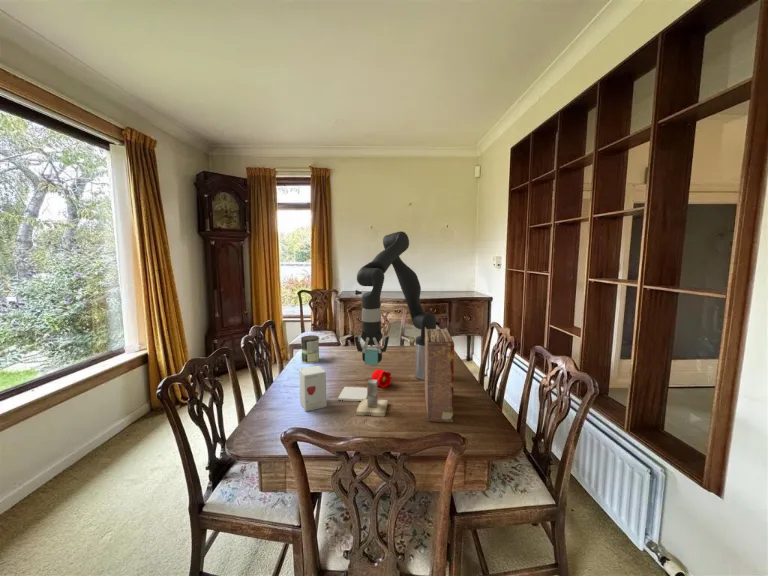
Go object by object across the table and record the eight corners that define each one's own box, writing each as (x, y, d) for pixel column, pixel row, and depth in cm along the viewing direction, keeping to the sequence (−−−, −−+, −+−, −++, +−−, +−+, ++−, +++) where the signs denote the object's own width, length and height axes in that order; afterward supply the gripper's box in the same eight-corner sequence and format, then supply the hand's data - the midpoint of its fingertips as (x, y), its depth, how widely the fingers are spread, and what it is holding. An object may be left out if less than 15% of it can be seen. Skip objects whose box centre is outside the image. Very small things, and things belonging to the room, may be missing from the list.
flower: (382, 369, 157) (393, 373, 151) (378, 385, 155) (389, 389, 149) (371, 366, 152) (382, 370, 146) (366, 382, 150) (377, 387, 144)
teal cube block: (379, 360, 127) (379, 348, 127) (377, 365, 122) (377, 352, 122) (367, 360, 128) (367, 348, 127) (364, 364, 123) (364, 352, 122)
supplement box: (304, 412, 125) (303, 375, 123) (299, 403, 133) (298, 368, 131) (327, 407, 129) (326, 371, 127) (321, 398, 137) (320, 364, 135)
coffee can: (298, 363, 183) (298, 339, 182) (305, 357, 193) (304, 335, 192) (315, 363, 182) (315, 339, 180) (321, 358, 192) (321, 335, 191)
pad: (370, 390, 145) (370, 387, 145) (365, 401, 133) (365, 399, 133) (344, 388, 146) (344, 386, 146) (337, 400, 135) (337, 398, 134)
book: (424, 392, 142) (424, 327, 139) (445, 393, 141) (446, 327, 138) (427, 422, 116) (428, 342, 114) (453, 422, 116) (454, 342, 113)
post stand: (387, 403, 132) (387, 376, 130) (384, 416, 121) (384, 387, 120) (361, 402, 133) (361, 375, 132) (356, 415, 122) (355, 386, 121)
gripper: (390, 317, 126) (391, 359, 128) (355, 317, 128) (356, 358, 129) (388, 321, 119) (389, 365, 120) (351, 321, 120) (352, 364, 122)
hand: (372, 361), depth 125 cm, fingers closed on teal cube block, 5 cm apart
